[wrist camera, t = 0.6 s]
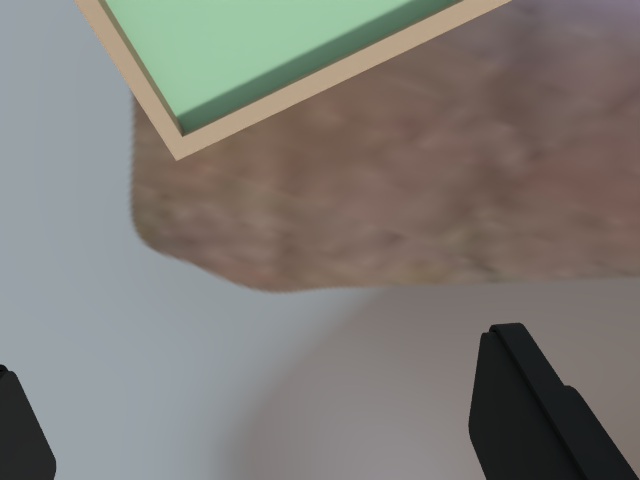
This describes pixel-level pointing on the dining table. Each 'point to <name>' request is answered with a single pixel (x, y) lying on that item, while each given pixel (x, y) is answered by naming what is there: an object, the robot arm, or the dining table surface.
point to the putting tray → (254, 53)
